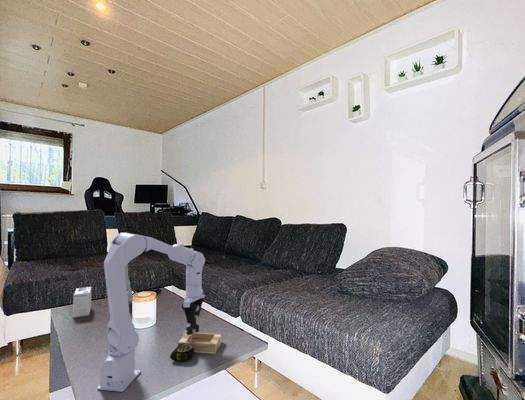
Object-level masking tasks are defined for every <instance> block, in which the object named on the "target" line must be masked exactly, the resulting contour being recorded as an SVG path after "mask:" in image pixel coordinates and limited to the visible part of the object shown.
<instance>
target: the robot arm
mask: <svg viewBox="0 0 525 400" xmlns="http://www.w3.org/2000/svg"><path fill="white" fill-rule="evenodd" d="M150 250H153V251H156V252H159V253H162V254H166V255H167V257H168V259H169V260H171V261H174V262H177V263H180V264H183V265H184V266H185V295H184V301H183V303H182V304H181V308H182V310H183V312H184V314H185V318H186V322H187V323H186V324H188V323H190V324H193V323H194V319H195V312H196V309H197V306H199V307H200V308H201V309H202V306H203V303H204V301H205V294H204V293H203V292H204V291H203V288H202V286H203V284H202V283H203V282H202V281H203V280H202V279H203V278H202V276H203V275H202V274H203V267H204V264H205V262H206V258H205V256H204V254H203V253H202V252H200V251H196V250H194V248H193V247H190V248H188V247H186V246H184V244H183V243H180V242H179V243H175V244H173V245H170V244H168V243H166V242H163V241H161V240H158V239H156V238H155V237H154V238H153V237H152V236H145V235H141V234H135V233H130V232H126V231H124V232H119V233H118V234H117V235H116V236H115V237H114V238H113V239H112V240H111V241H110V246H109V249H108V252H107V254H106V257H105V259H104V262H103V270H104V277H105V285H106V293H107V303H108V310H109V319H110V320H109V322H107V331H106V334H105V340H106V343H108V344H109V348H108V352H107V353H108V354H107V357H106V359H105V360H104V361H103V362H102V364H101V365H100V369H99V371H100V372H99V373H100V374H99V376H100V377H99V385H98V386H97V390H100V391H101V390H102V391H111V392H124V391H125V390H126V389H127V388H128V386H130V384H131V383H132V382H134V380H135V379H136V378H137V377H138V376H139V375H140V373H141V370H140V369H139V370H138V369H135V368H136V365H135V364H136V361H135V360H136V348H137V346H138V345H139V340H140V336H139V334H138V332H136V330H135V325H134V323H133V322H134V321H132V318H131V316H130V313H131V312H130V306H129V305H130V304H129V301H128V296H127V292H128V289H127V286H126V278H125V269H124V267H125V266H126V265H127V264H129V263H130V262H131V261H132V260H134V259H135V258H137V257H138V256H140V255H141V254H143V253H144V252H148V251H150ZM200 315H201V313H200V314H199V315H198V318H199V317H200Z"/></svg>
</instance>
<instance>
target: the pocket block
mask: <svg viewBox="0 0 525 400" xmlns="http://www.w3.org/2000/svg"><path fill="white" fill-rule="evenodd" d="M222 336H223V334H222V333H214V332H213V333H212V332H200V331H199V332H196V333H195V334H191V335H187V334H186V335H182V337H181V338H179V339H180V340H179V341H178V342H177V346H178V345H179V344H185V343H189V344H192V345H193V347H194V353H198V354H199V353H202V354H211V355H212V354H214V355H215V354H216V353H217V351H218V349H219V347H221V344H222V343H223V342H222V341H223V337H222Z"/></svg>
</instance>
